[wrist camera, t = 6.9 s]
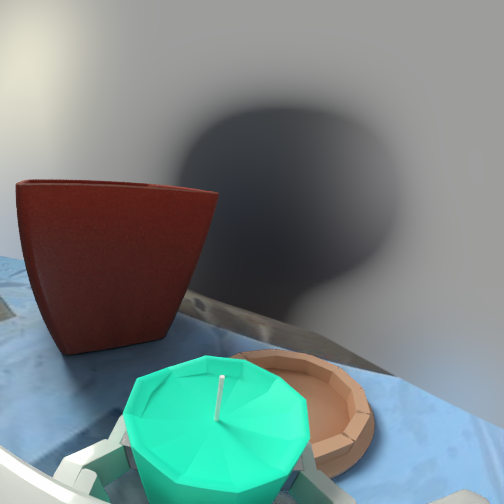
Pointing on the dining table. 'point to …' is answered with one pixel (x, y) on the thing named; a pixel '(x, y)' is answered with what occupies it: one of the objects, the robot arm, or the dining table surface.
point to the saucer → (324, 406)
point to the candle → (215, 432)
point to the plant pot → (110, 257)
